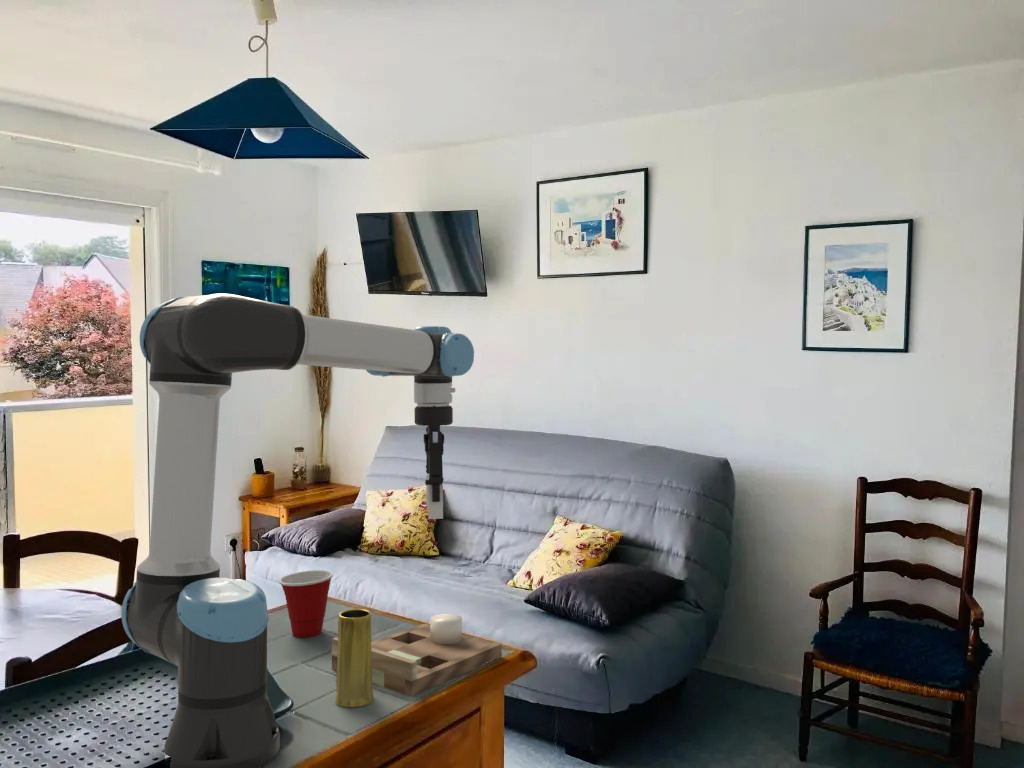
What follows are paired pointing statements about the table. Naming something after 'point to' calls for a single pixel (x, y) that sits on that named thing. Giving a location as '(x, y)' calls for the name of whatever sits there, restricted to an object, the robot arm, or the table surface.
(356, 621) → the vase
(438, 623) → the white rounded block
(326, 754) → the table surface
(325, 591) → the plastic cup
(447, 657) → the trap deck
